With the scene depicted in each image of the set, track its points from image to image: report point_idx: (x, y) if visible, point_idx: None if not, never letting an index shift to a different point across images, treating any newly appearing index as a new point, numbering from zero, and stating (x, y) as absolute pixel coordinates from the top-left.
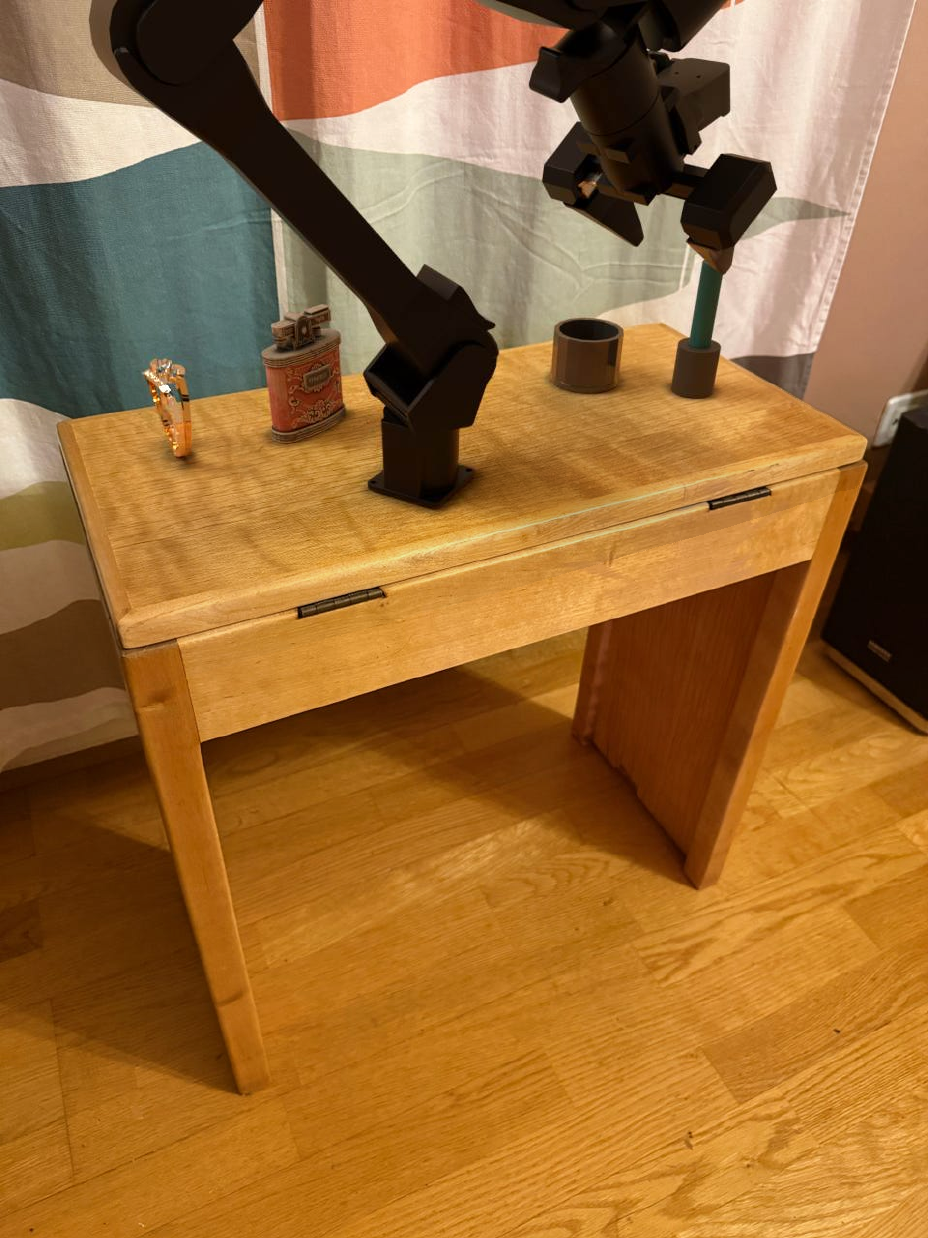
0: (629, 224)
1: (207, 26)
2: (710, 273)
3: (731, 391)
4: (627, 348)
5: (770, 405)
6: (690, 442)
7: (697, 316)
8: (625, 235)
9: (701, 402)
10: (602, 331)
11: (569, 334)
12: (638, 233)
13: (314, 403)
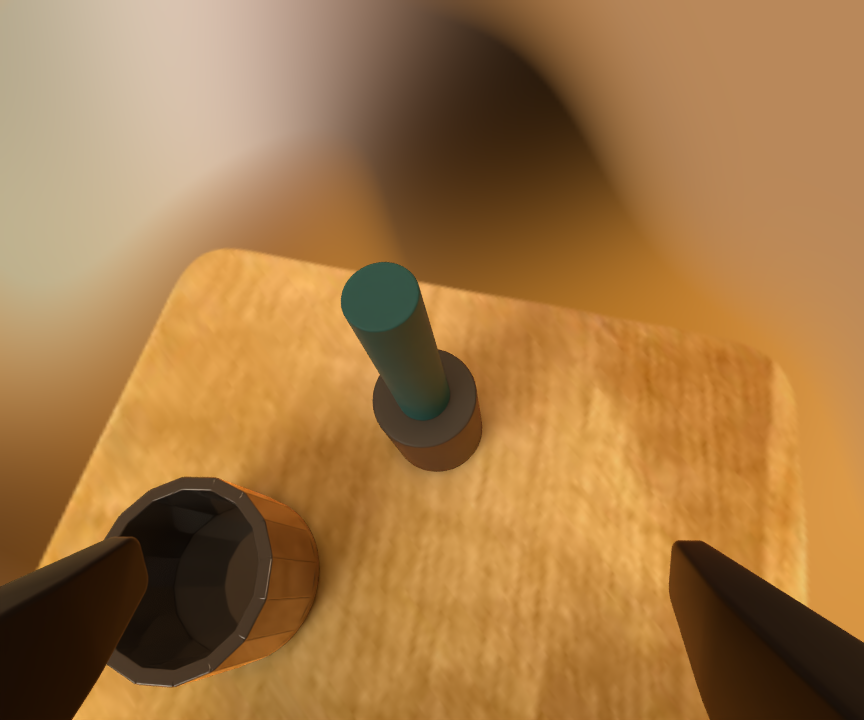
0: (26, 688)
1: None
2: (401, 338)
3: (493, 369)
4: (220, 368)
5: (586, 361)
6: (624, 660)
7: (408, 396)
8: (67, 715)
9: (491, 461)
10: (192, 496)
11: None
12: (104, 589)
13: None
